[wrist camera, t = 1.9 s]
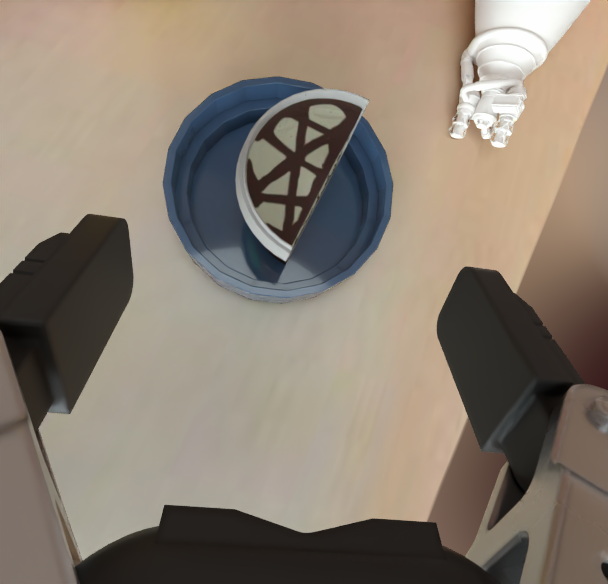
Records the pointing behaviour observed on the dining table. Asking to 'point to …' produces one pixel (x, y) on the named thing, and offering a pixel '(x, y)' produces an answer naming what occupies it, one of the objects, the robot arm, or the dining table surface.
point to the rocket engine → (507, 59)
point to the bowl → (230, 221)
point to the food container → (293, 163)
